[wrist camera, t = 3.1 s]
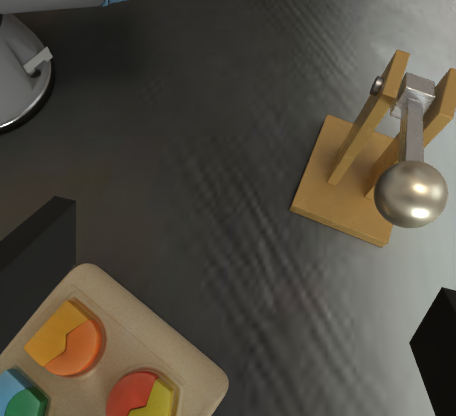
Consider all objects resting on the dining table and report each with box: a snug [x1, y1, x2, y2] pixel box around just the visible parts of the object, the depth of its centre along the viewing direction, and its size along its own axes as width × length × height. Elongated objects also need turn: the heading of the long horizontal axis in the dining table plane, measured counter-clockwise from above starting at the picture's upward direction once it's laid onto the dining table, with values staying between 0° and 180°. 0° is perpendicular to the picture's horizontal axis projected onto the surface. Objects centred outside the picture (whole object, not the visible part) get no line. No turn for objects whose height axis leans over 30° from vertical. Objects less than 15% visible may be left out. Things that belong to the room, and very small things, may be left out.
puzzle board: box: [0, 263, 229, 416], centre depth 32 cm, size 18×19×4 cm
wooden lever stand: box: [289, 50, 456, 247], centre depth 35 cm, size 12×10×16 cm
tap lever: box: [374, 73, 448, 228], centre depth 25 cm, size 15×4×4 cm, turn 155°
